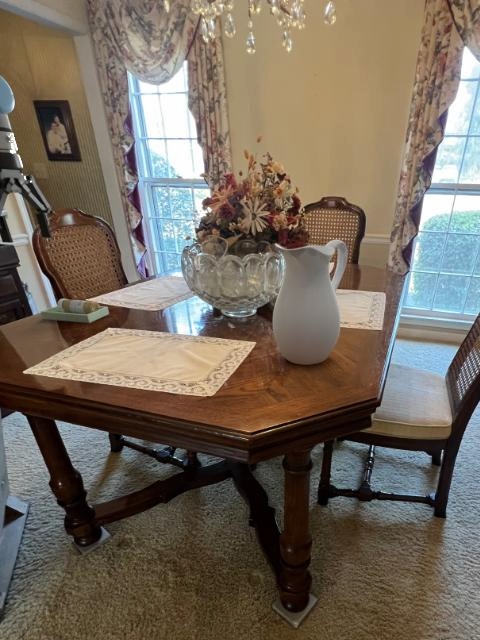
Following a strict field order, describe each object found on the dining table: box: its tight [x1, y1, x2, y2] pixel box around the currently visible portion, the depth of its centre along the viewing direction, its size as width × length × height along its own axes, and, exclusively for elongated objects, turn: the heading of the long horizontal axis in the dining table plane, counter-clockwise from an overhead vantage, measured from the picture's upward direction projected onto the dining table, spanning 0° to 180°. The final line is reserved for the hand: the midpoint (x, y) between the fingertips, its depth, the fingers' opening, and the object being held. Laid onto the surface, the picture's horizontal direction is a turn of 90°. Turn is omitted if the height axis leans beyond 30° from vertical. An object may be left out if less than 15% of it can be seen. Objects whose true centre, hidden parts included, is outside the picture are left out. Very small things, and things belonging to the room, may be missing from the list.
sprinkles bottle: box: [57, 298, 101, 314], centre depth 128 cm, size 5×5×13 cm
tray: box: [40, 305, 110, 324], centre depth 127 cm, size 18×10×2 cm, turn 78°
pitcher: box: [272, 239, 349, 366], centre depth 94 cm, size 24×17×28 cm
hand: (28, 240), depth 109 cm, fingers open, 13 cm apart
